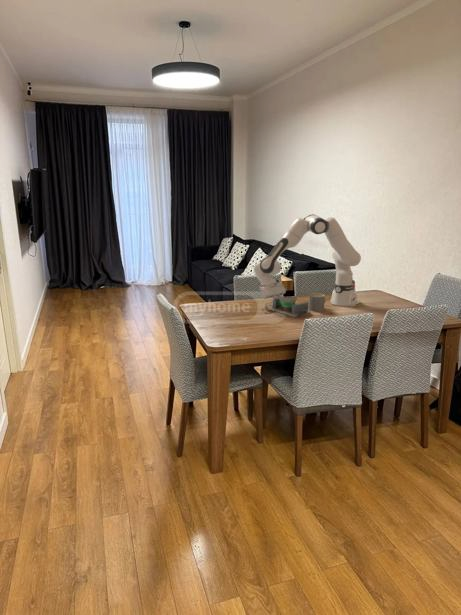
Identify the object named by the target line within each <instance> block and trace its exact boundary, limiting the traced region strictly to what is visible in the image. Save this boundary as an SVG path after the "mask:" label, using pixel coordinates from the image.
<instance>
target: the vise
mask: <svg viewBox="0 0 461 615" xmlns="http://www.w3.org/2000/svg"><path fill="white" fill-rule="evenodd" d="M266 309H267V310H270V311H272V312H277V313H279V314H283V315H285V316H289V317H292V318H297V317H298V316H301V315H304V314H310V313H311V310H309V301H306V300H305V301H302V302H297V303H295V304H293V305H292V312H289V311H286V310H282V309H280V307H279V308H272V305H270V306H267V308H266Z"/></svg>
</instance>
